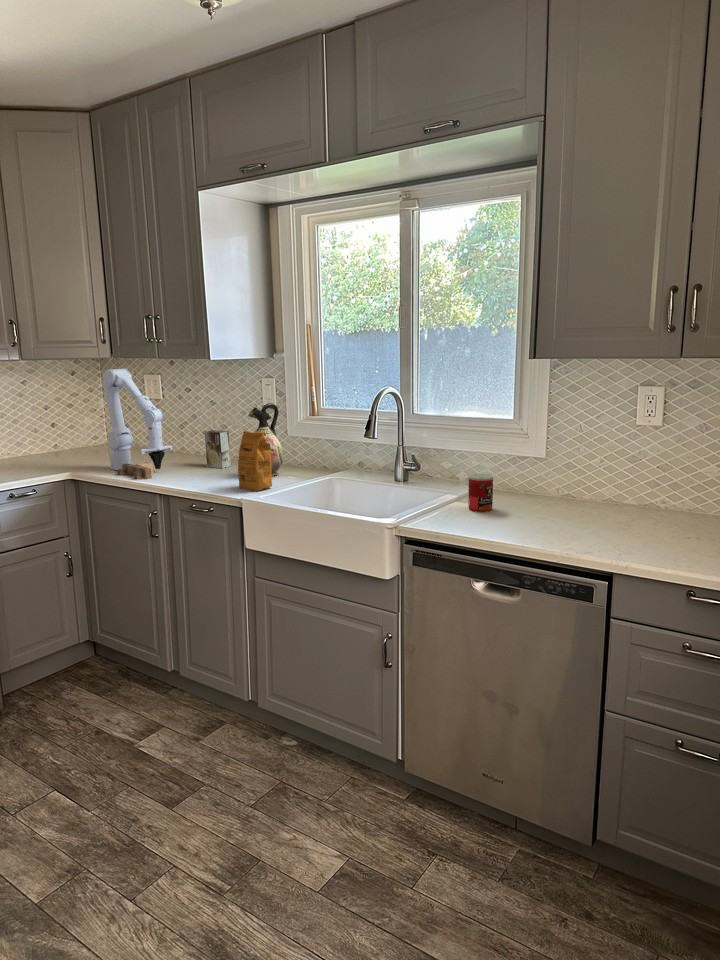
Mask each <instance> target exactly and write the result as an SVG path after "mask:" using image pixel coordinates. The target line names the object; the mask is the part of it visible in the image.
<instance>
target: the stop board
mask: <svg viewBox="0 0 720 960" xmlns="http://www.w3.org/2000/svg"><path fill="white" fill-rule="evenodd" d="M125 474H126V475H128V474H129V476H132V475H133V478H134V480H137V479H138V480H143V479H142V478H144V479H145V480H148V478H149V479H153V478H152V475H153V474H152V475H151V468H146V467H142V466H137V465H135V464H132V463H131V464H128V463H125V464H122V469H118V470H117V475H118V476H125Z"/></svg>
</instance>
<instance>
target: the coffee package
mask: <svg viewBox="0 0 720 960" xmlns="http://www.w3.org/2000/svg"><path fill="white" fill-rule="evenodd" d="M265 435H266V434H265V432H255V431H253V432H251V431H249V430H247V429H244V430H243V433H242V436H241V441H240V445H239V448H238V449H239V450H238V458H237V460H238V461H237V463H238V464H237V465H238V466H237V475H238V485H239V486H238V487H239V489H240V488H244V489H245V490H246V489H247V490H246V491H248V490H253V491H252V492H260V491H262V490H264V489H268V488H271V487H272V486H273V476H272V474H271V473H272V469H271V450H270V447H269V445H268V443H267V441H266V439H265V437H264V436H265ZM244 489H243V490H244Z"/></svg>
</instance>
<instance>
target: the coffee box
mask: <svg viewBox="0 0 720 960" xmlns="http://www.w3.org/2000/svg"><path fill="white" fill-rule="evenodd" d="M229 433H230V432H229V430H218V429H212V430H207V431H204V443H205V455H206V467H207V468H212V467H213V468H215V469H226V468H229V467H231V466H232V464H231V452H230V451H231V450H230V449H231V448H230V435H229ZM225 467H226V468H225Z"/></svg>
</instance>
